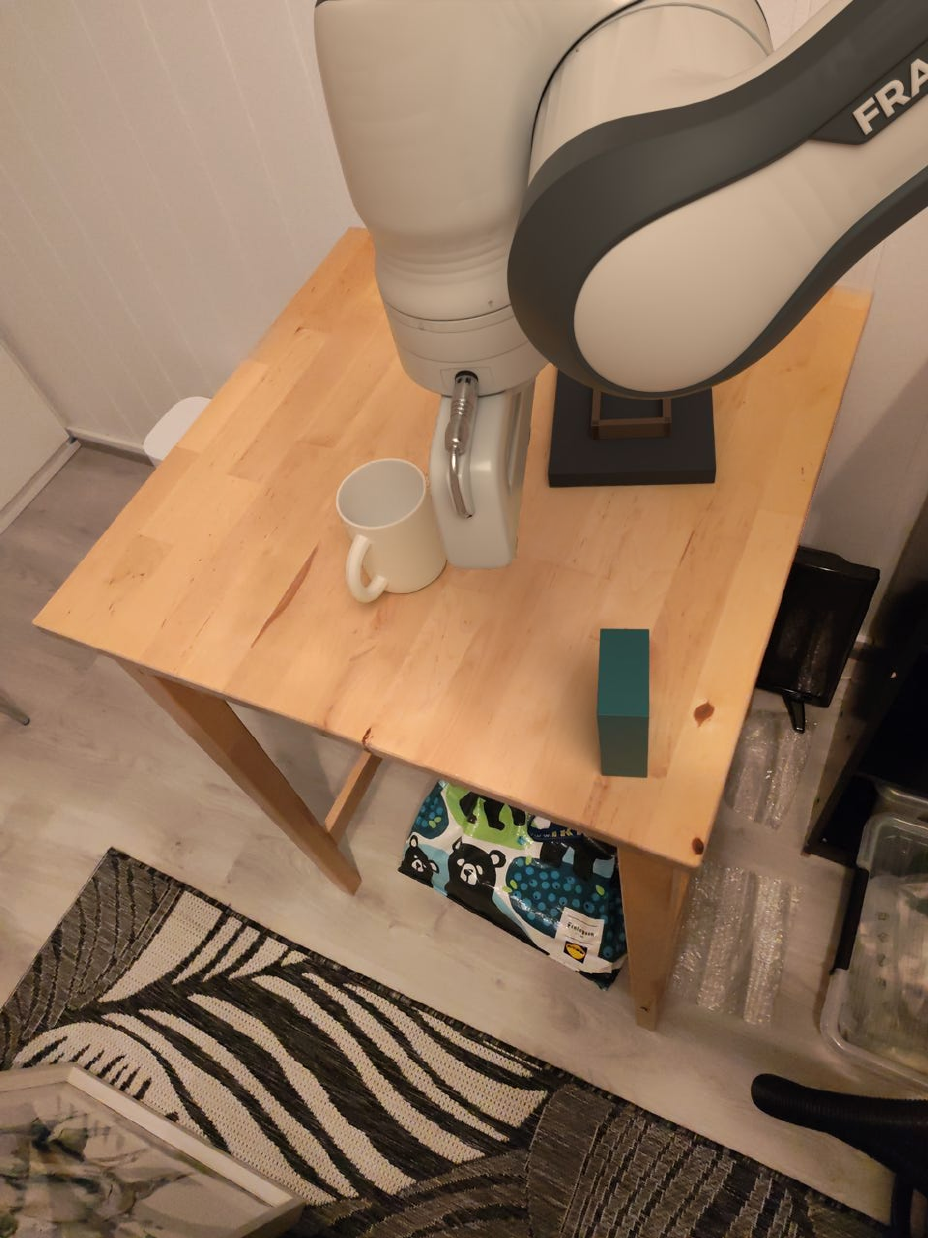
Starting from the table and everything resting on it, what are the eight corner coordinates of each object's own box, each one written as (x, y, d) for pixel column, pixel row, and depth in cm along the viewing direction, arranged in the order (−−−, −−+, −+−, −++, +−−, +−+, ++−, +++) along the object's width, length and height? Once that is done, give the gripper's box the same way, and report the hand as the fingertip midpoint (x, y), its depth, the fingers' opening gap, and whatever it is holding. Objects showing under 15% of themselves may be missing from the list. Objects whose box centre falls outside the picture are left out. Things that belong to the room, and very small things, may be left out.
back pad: (647, 698, 67) (649, 628, 58) (647, 778, 63) (649, 716, 54) (604, 697, 68) (600, 628, 59) (602, 775, 64) (596, 714, 55)
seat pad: (707, 346, 88) (710, 315, 85) (714, 483, 78) (718, 454, 75) (561, 354, 92) (558, 325, 89) (549, 487, 81) (546, 459, 78)
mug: (404, 638, 75) (375, 573, 66) (332, 612, 78) (294, 546, 69) (463, 541, 80) (443, 469, 71) (393, 520, 83) (365, 449, 74)
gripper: (517, 461, 35) (547, 629, 46) (551, 195, 46) (568, 384, 57) (380, 466, 36) (441, 628, 48) (443, 207, 47) (481, 389, 59)
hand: (511, 493), depth 53 cm, fingers open, 8 cm apart
